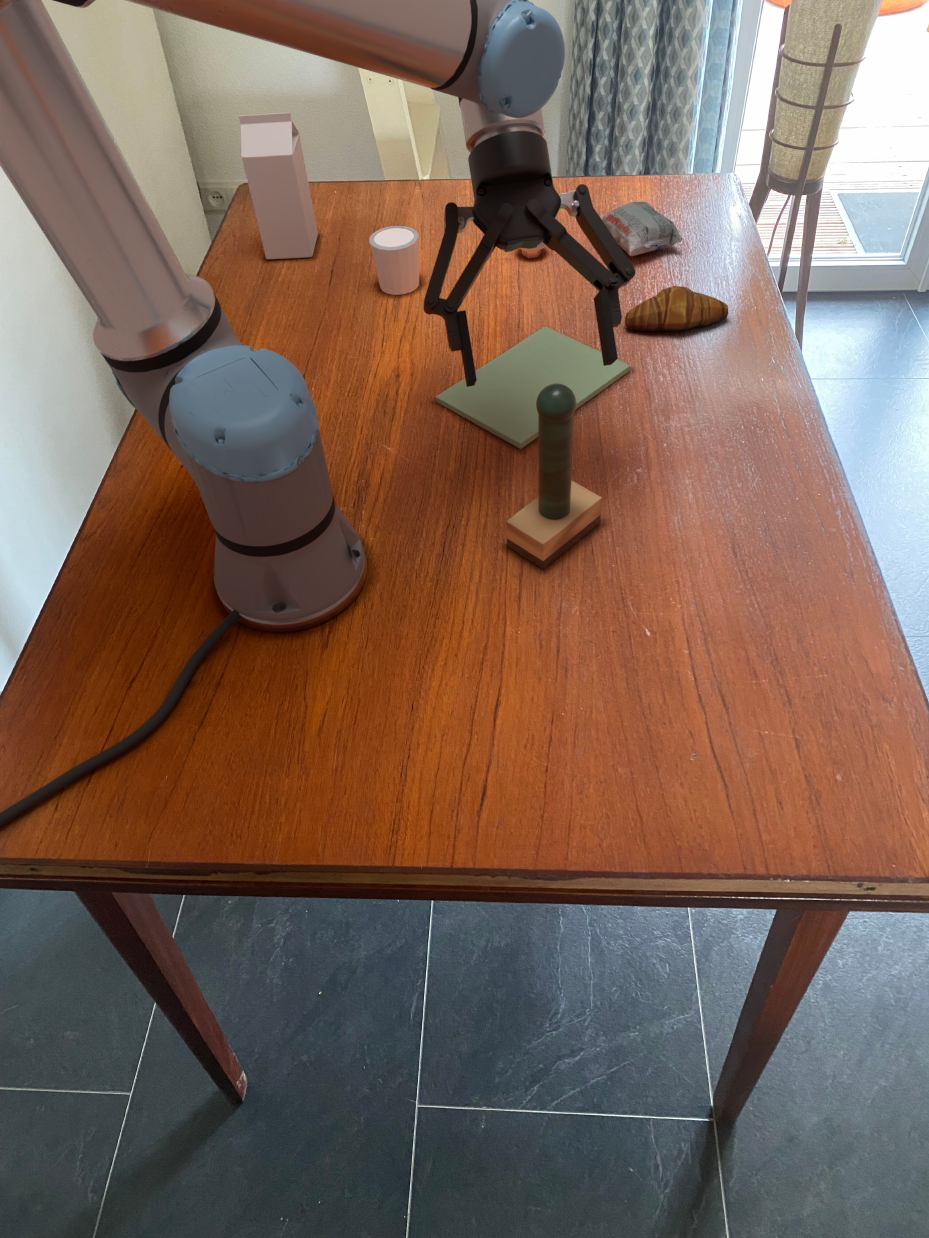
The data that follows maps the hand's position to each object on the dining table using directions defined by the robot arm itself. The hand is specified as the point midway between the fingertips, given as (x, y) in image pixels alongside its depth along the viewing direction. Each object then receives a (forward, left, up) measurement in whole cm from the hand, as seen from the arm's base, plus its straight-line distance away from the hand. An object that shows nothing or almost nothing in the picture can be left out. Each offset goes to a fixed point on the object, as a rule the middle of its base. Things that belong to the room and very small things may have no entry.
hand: (541, 373), depth 87 cm
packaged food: (+49, +26, -16) cm, 58 cm away
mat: (+14, +14, -15) cm, 25 cm away
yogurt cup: (+20, +45, -15) cm, 52 cm away
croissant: (+36, +9, -16) cm, 40 cm away
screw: (+38, +36, -15) cm, 55 cm away
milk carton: (+17, +66, -16) cm, 70 cm away
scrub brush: (-4, -5, -15) cm, 17 cm away
